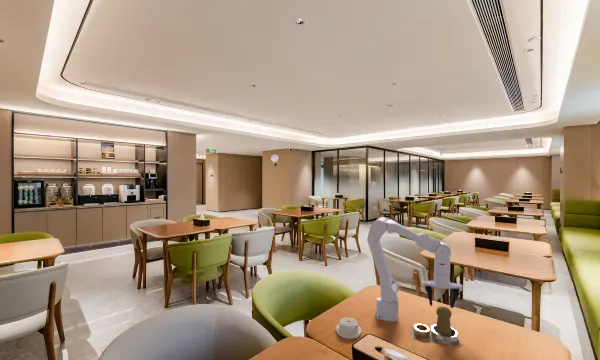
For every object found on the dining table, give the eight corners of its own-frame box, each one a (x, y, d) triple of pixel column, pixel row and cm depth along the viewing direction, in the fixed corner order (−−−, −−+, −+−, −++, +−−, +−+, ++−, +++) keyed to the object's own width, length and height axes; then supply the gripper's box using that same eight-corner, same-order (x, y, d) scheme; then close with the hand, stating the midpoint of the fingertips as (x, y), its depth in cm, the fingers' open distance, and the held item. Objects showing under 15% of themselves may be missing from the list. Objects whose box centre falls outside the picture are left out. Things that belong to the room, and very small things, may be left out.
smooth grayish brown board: (412, 341, 109) (412, 339, 109) (409, 328, 117) (409, 326, 117) (461, 348, 104) (461, 346, 104) (455, 334, 113) (455, 332, 113)
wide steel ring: (433, 342, 107) (433, 335, 107) (429, 328, 116) (429, 322, 115) (460, 345, 104) (460, 339, 104) (453, 331, 113) (454, 325, 113)
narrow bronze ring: (415, 337, 110) (415, 330, 110) (413, 328, 115) (413, 322, 115) (430, 339, 109) (430, 332, 108) (428, 330, 114) (428, 324, 114)
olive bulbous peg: (455, 341, 107) (455, 312, 107) (438, 340, 108) (438, 311, 107) (448, 331, 113) (448, 304, 113) (432, 331, 114) (432, 304, 113)
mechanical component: (366, 332, 115) (345, 322, 122) (366, 321, 115) (345, 312, 122) (351, 343, 108) (331, 332, 115) (351, 331, 108) (331, 321, 115)
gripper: (459, 270, 116) (458, 303, 117) (420, 267, 120) (420, 299, 121) (464, 277, 110) (463, 311, 110) (423, 273, 113) (422, 307, 114)
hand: (441, 305), depth 115 cm, fingers open, 7 cm apart
